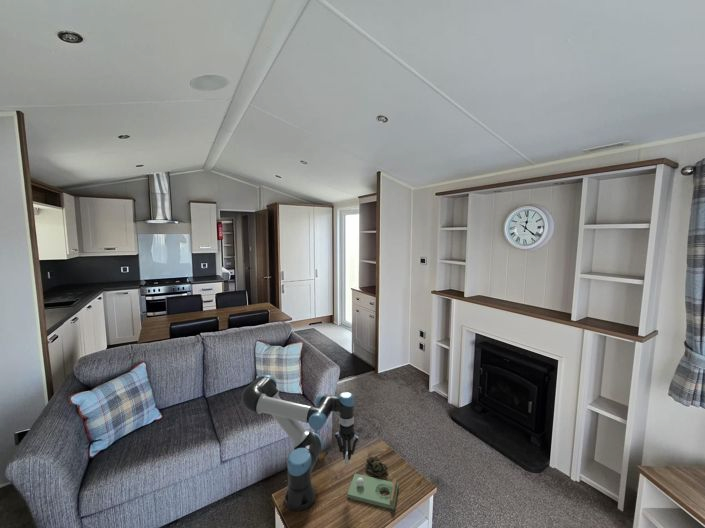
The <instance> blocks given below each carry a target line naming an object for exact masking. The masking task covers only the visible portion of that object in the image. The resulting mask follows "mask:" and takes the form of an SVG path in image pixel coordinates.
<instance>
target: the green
mask: <svg viewBox="0 0 705 528" xmlns="http://www.w3.org/2000/svg"><path fill="white" fill-rule="evenodd" d="M360 477H361V478H363V480H364V485H363V486H361V487H359V486H358V485H357V483H356V481H357V479H358V478H360ZM397 479H398V478H395V477H394V478H393V481H389V480H385V479H380V478H376V477H372V476H367V475H363V474H359V473H354V475H353V478H352V480H351V483H350V486H349V489H348V491H347V493H346V498H348V499H351V500H355V501H359V502H364V503H367V504H371V505H375V506H379V507H383V508H387V509H391V510H395V505H396V501H397V494H398V490H399V483H398V482H397ZM383 491H386V492H388V495H383V494H381V492H383Z"/></svg>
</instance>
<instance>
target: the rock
mask: <svg viewBox="0 0 705 528" xmlns="http://www.w3.org/2000/svg"><path fill="white" fill-rule="evenodd" d="M365 461H366V463H365V469H366V472H368V473H369V474H371V475H375V476H377V477H382V475H384V474H386V473H387V470H388V466H387V465H386V463H382V462H381V461H380V458H379V457H378V456H377V455H375V456H369V457H368V458H367V459H366V460H365Z"/></svg>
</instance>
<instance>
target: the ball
mask: <svg viewBox="0 0 705 528" xmlns="http://www.w3.org/2000/svg"><path fill="white" fill-rule="evenodd" d="M356 483H357V485H358V486H359V487H361V486H363V485H364V480H363V478H361V477H360V478H358V479H357V481H356Z"/></svg>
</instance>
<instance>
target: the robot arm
mask: <svg viewBox="0 0 705 528" xmlns="http://www.w3.org/2000/svg"><path fill="white" fill-rule="evenodd" d="M277 384H278V383H277V379H275V378H274V377H273V376H272V375H270V374H267V373H266V374H261V375H260V376H258V377H256V378H255V379H254V380H253V381H252V382H251V383H249V384H248V385H247V386H246V387H245V388H244V389H243V390H242V393H241V403H242V405H243V406H244V408H245V409H246V410H247V411H249V412H250V413H254V414H258V415H260V414H262V413H263V414H264V413H265V414H267V415H271V416H272V417H273V418H274V420H275V421H276V422H277V423H278V425H279V426H280V427H281V428H282V430H283V431H284V432H285V434H286V435H287V436H288V438H289V439H290V440H291V442H292V448H293V450H292V452H290V454H289V455H288V458H287V463H286V467H287V487H286V491H285V494H284V502H285V506H286V507H287V508H288V509H289V510H291V511H296V512H301V511H304V510H307V509H309V508H310V507H311V506H312V505H313V504H314V502H315V498H316V491H315V488H314V485H313V481H312V471H313V468H314V467H315V465H316V463H317V461H318V458H319V457H320V455H321V454H322V450H323V449H324V448H323V446H324V443H323V440H322V437H321V436H320V434H318V433H316V432H313V431H311V430H309V429H305V427H304V426H303V425H302V424H301V423H300V422H303V423H307V424H308V425H309V427H310V428H311V429H312V430H314V431H319V430H322V428H323V427H324V426H325V425H326V423H327V421H328V419H329V417H330V415H331V414H332V412H334V413H339V415H338V416H339V431H336V432H335V433H334V437H335V438H336V442H337V447H338V450H339V452H340V453H342V456H343V460H344V465H345V467H349V465H350V460H351V459H352V455H354V453H355V450H356V446H357V442H358V441H359V439H360V436H359V435H356V432H355V423H354V422H355V415H354V414H355V413H354V412H355V403H354V402H355V401H354V395H353V393H351V392H348V391H345V392H344V391H343V392H341V393H340V394H339V395H338V396H337V395H331V394H323V393H321V394H318V396H317V398H316V401H315V406H312V405H306V404H302V403H298V402H294V401H289V400H284V399H282V398H281V397H280V396H279V393H280V391H279V390H278V389H277V387H278V386H277ZM352 440H353V444H352Z"/></svg>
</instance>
